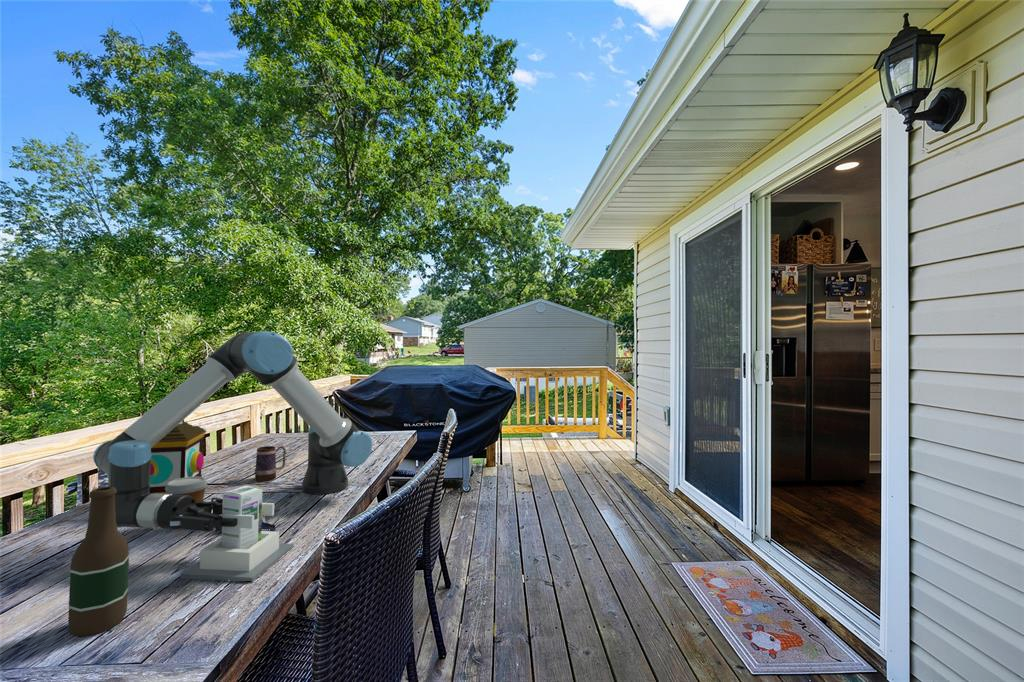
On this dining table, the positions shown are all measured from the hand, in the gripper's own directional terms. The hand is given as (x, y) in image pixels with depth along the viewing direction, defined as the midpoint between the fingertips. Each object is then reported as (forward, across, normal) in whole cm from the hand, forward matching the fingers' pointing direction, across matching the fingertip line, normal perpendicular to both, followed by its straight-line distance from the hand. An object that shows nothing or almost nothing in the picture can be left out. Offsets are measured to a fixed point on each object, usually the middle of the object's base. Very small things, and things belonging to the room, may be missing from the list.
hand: (263, 515), depth 103 cm
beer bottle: (-15, +24, -11) cm, 30 cm away
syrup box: (-5, 0, -9) cm, 10 cm away
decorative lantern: (-54, -35, -11) cm, 65 cm away
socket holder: (-5, 0, -11) cm, 12 cm away
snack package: (-14, -17, -12) cm, 25 cm away
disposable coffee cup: (-34, -19, -11) cm, 40 cm away
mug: (-36, -62, -11) cm, 73 cm away
